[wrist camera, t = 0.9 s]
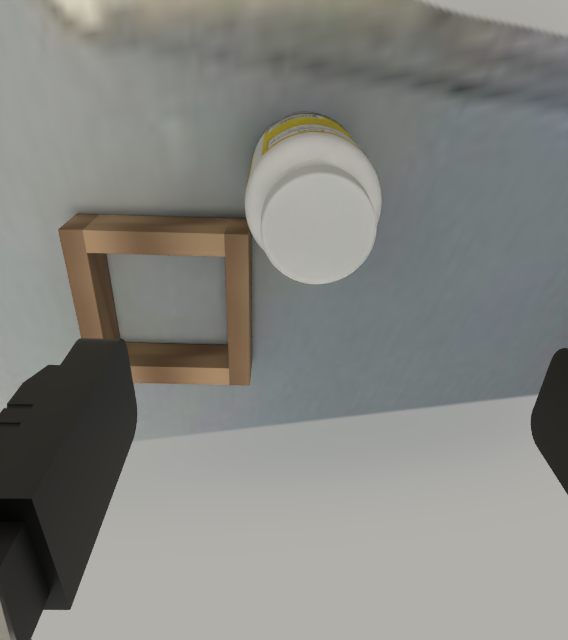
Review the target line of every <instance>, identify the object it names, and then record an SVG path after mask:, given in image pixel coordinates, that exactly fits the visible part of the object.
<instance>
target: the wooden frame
mask: <svg viewBox="0 0 568 640" xmlns="http://www.w3.org/2000/svg"><path fill="white" fill-rule="evenodd" d="M58 231H59V236H60V241H61V245H62V250H63V255H64V259H65V264H66V268H67V273H68V278H69V282H70V287H71V292H72V296H73V301H74V306H75V310H76V315H77V320H78V324H79V329H80V333H81V338H96V339H120V335H119V329H118V323H117V317H116V311H115V305H114V299H113V293H112V287H111V281H110V275H109V269H108V263H107V257H106V253H110V254H148V255H185V256H223V257H225V273H226V301H227V330H228V345H210V344H168V343H127V342H125V343H126V345H127V349H128V354H129V360H130V367H131V373H132V379H133V383H167V384H211V385H250V377H251V367H252V263H251V231H250V229H249V226H248V223H247V219H243V218H207V217H171V216H135V215H99V214H76V215H75V216H74V217H73V218H71V219H70V220H69V221H68V222H67V223H65V224H64V225H63V226H62V227H61V228H59V229H58Z"/></svg>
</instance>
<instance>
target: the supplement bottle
mask: <svg viewBox="0 0 568 640" xmlns="http://www.w3.org/2000/svg"><path fill="white" fill-rule="evenodd" d="M381 205H382V196H381V188H380V183H379V180H378V177H377V175H376V172H375V170H374V168H373V166H372V164H371V163H370V161H369V160H368V158H367V157H366V155H365V154H364V153H363V152H362V150H361V149H360V148H359V147H358V145H357V144H356V143H355V141H354V140H353V139H352V138H351V136H350V135H349V134H348V133H347V132H346V130H345V129H344V128H343V127H342V126H341V125H339V124H338V123H337V122H335V121H334V120H332V119H330V118H328V117H326V116H323V115H320V114H317V113H310V112H303V113H295V114H291V115H288V116H286V117H284V118H282V119H280V120H278V121H277V122H275V123H274V124H273V125H271V126H270V127H269V128H268V129H267V130H266V131H265V133H264V134H263V135H262V137H261V138H260V140H259V142H258V144H257V146H256V148H255V151H254V154H253V158H252V162H251V167H250V172H249V177H248V182H247V187H246V192H245V214H246V219H247V223H248V226H249V229H250V231H251V233H252V235H253V237H254V239H255V240H256V242H257V243H258V245H259V246H260V247H261V248H262V249H263V250H264V251H265V253H266V255H267V256H268V258H269V260H270V261H271V263H272V264H273V265H274V266H275V267H276V268H277V269H278V270H279V271H280V272H281V273H283V274H284V275H286V276H287V277H289V278H291V279H293V280H296V281H299V282H302V283H307V284H326V283H330V282H334V281H337V280H340V279H342V278H344V277H346V276H348V275H349V274H351V273H352V272H354V271H355V270H356V269H357V268H358V267H359V266H360V265H362V263H363V262H364V261H365V260H366V258H367V257H368V255H369V254H370V252H371V250H372V248H373V245H374V242H375V238H376V231H377V224H378V221H379V217H380V212H381Z"/></svg>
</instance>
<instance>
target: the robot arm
mask: <svg viewBox="0 0 568 640" xmlns="http://www.w3.org/2000/svg"><path fill="white" fill-rule="evenodd" d="M136 423H137V404H136V397H135V391H134V385H133V379H132V373H131V367H130V360H129V354H128V349H127V345H126V343H125V341H124V340H123V339H96V338H81V339H79V340H77V342H76V343H75V344H74V346H73V347H72V349H71V350H70V352H69V353H68V355H67V356H66V358H65V359H64V361H63V362H62V363H61V365H48V366H46V367H45V368H43V369H42V370H41V371H39V372H38V373H36V374H35V375H33V376H32V377H31V378H29V379H28V380H26V381H25V382H23V384H22V385H21V386H20V388H19V389H18V390H17V392H16V393H15V394H14V395H13V397H12V398H11V399H10V401H9V402H8V403H7V408H4V409H3V410H2V411H1V413H0V640H31V637H32V635H33V632H34V630H35V628H36V625H37V623H38V620H39V618H40V616H41V613H42V611H43V610H70V609H71V606H72V603H73V601H74V598H75V595H76V593H77V590H78V587H79V584H80V582H81V579H82V576H83V573H84V570H85V568H86V565H87V563H88V560H89V557H90V555H91V552H92V549H93V546H94V544H95V541H96V538H97V536H98V533H99V530H100V528H101V525H102V522H103V519H104V517H105V514H106V511H107V509H108V506H109V503H110V500H111V498H112V495H113V492H114V489H115V487H116V484H117V481H118V479H119V476H120V473H121V471H122V468H123V465H124V462H125V460H126V457H127V454H128V452H129V449H130V446H131V444H132V441H133V438H134V434H135V430H136ZM531 430H532V435H533V439H534V441H535V444H536V445H537V447H538V449H539V450H540V452H541V453H542V455H543V456H544V458H545V460H546V461H547V463H548V464H549V466H550V467H551V469H552V471H553V472H554V474H555V475H556V477H557V478H558V480H559V482H560V483H561V485H562V486H563V488H564V489H565V491H566V493H567V494H568V348H562V349H560V350H558V351H557V352H556V353H555V354H554V356H553V358H552V360H551V362H550V365H549V368H548V370H547V373H546V376H545V379H544V381H543V384H542V387H541V389H540V392H539V395H538V397H537V401H536V403H535V406H534V408H533V411H532V415H531Z"/></svg>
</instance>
